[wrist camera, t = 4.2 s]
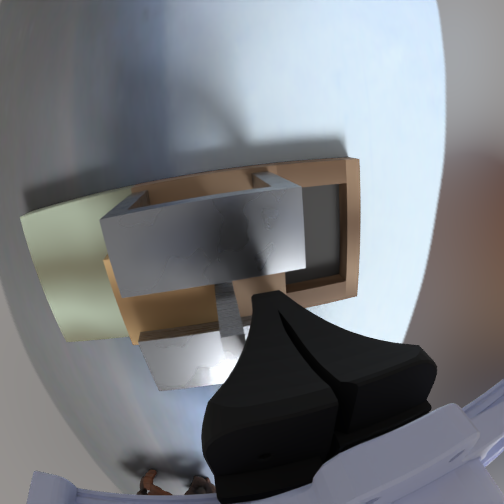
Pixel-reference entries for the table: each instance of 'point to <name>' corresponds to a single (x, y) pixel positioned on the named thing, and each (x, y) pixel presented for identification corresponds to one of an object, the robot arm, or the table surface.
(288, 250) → the tunnel
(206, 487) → the brown headphones
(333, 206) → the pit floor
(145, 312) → the block
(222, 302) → the paddle
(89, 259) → the board
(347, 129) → the table surface
